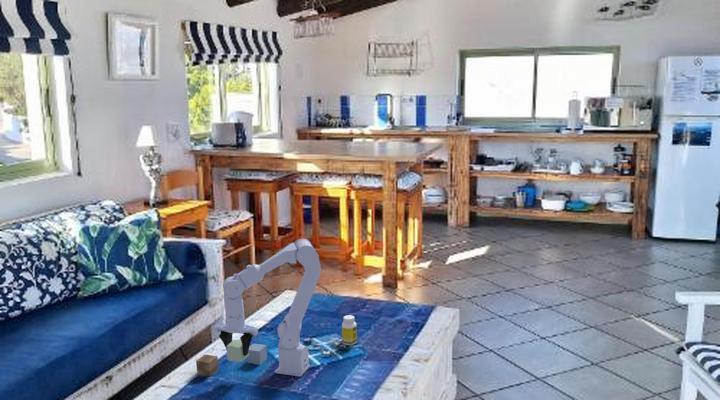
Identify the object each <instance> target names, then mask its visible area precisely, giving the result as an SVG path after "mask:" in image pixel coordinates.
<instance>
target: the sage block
mask: <svg viewBox="0 0 720 400" xmlns="http://www.w3.org/2000/svg"><path fill="white" fill-rule="evenodd" d="M226 355H227V356H226V358H227V361H230V362H239V363H242V362H244V361H245V360H247V357H248V356H249V352H248V354H247V355H246V356H244V355H243V346H242V342H241V339H232V342H231V343H229V344H228V345H227V350H226Z"/></svg>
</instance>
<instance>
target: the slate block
mask: <svg viewBox="0 0 720 400" xmlns="http://www.w3.org/2000/svg"><path fill="white" fill-rule="evenodd" d="M267 359H268V351H267V344H261V343H260V344H259V343H252V344H250V346H249V356H248V357H247V358H246V363H247V364H251V363H252V365H253V364H254V365H260V366H261V365H262V364H263V363H264V362H265V361H266V360H267Z"/></svg>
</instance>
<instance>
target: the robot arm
mask: <svg viewBox="0 0 720 400" xmlns="http://www.w3.org/2000/svg"><path fill="white" fill-rule="evenodd" d="M297 261H298V263H300V264H301V266H302V267H303V268H304V273H303V276H302V278H301V281H300V283H299V285H298V288H297V291H296V293H295V296H294V298H293V301H292V303H291V306H290V308H289V311H288V313H287V314H285V316H284V319H283V320H282V321H281V322H280V323H279V324H278V325H277V334H278V338H279V341H278V342H277V343H278V344H277V348H278V349H277V350H278V363H279V364H278V365H279V366H278V368H277V369H275V370H274V373H275V374H280V375H286V376H287V375H288V376H295V377H302V376H303V374H305V372H306V371H308V369H309V368H310V366H311V365H310V360H309V347H307V345H304V344H302V343H301V342H300V341H301V336H300V334H301V331H302V324H303V319H304V316H305V314H306V312H307V309H308V307H309V304H310V301H311V299H312V297H313V294H314V292H315V289H316V287H317V284H318V282H319V280H320V277H321V274H322V267H321V262H320V256H319V254H318V252H317V250H316V249H315V248H314V246H313V244H312V243H311V242H310V241H309V239H306V238H299V239H297V240H296V241H295V242H292V243H289V244H288V245H287V246H285V247H284V248H282V249H281V250H279V251H277V252H276V253H275V254H274V255H272V256H271V257H269V258H268V259H266V260H264V261H263V262H262V263H260V264H255V263H253V264H248V265H246V268H245V269H243V270H241V271H240V272H238V273H234V274H233V276H228V277H227V278H225V280H224V281H223V284H222V287H223V292H224V309H225V319H226V320H225V321H226V323H221V324H220V323H217V324H215V325H214V332H215V333H218V332H220V333H219V334H218V337H219V339H220V340H221V341H222V343H223V345H224V348H225V349H226V351H227V345H228V344H229V343H231V342H232V341H233V334H242V335H241V336H240V337H239V338H240V339H239V340H241V342H242V346H243V355H244V356H246V355H247V354H248V352H249V347H250V346H251V343H252V339H253V337H254V336H257V335H258V334H259V327H257V326H256V327H255V326H252V325H248V324H246V321H245V309H244V307H245V306H244V299H243V292H244V291H247V290H248V289H249V288H251V287H253V286H255V285H256V284H258V283H259V282H262V280H263V279H264V277H265V274H267V273H270V272H271V271H273V270H274V269H276V268H278V267H280V266H282V265H284V264H285V263H289V264H297Z"/></svg>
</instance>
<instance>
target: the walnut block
mask: <svg viewBox="0 0 720 400" xmlns="http://www.w3.org/2000/svg"><path fill="white" fill-rule="evenodd" d="M195 362H196V363H195V364H196V373H197V376H203V377H209V376H210V377H209V378H211V377H212V376H213V375H214V374H216V373H217V372H218V371H219V370H218V369H219V359H218V355H211V354H203V355H201V356H200V358H198V359H197V360H196V361H195ZM217 370H218V371H217ZM216 371H217V372H216ZM211 375H212V376H211Z"/></svg>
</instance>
